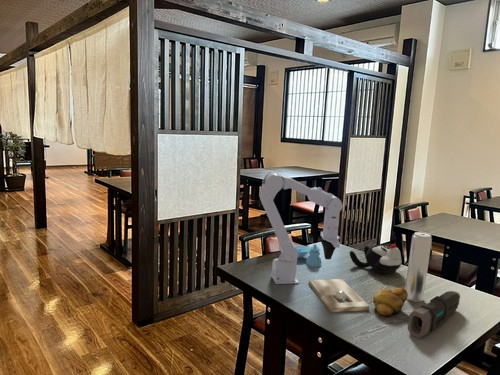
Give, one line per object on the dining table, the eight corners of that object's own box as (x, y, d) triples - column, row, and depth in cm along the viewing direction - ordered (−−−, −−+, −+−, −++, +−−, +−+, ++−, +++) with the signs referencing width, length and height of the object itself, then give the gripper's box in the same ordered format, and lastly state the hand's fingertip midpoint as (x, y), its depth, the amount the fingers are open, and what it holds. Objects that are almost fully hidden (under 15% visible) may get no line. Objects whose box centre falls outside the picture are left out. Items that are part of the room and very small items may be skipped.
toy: (396, 255, 145) (356, 230, 158) (381, 288, 151) (344, 261, 164) (414, 248, 155) (375, 225, 168) (400, 279, 161) (363, 254, 174)
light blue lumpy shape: (283, 255, 172) (284, 237, 170) (299, 252, 178) (300, 234, 177) (310, 268, 158) (312, 249, 156) (326, 264, 164) (328, 245, 162)
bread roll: (390, 322, 117) (393, 299, 116) (363, 310, 124) (366, 288, 123) (408, 309, 126) (411, 288, 124) (381, 299, 133) (384, 278, 131)
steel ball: (335, 293, 127) (331, 294, 130) (341, 303, 126) (337, 304, 129) (344, 287, 128) (339, 289, 132) (350, 298, 127) (345, 299, 131)
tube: (465, 322, 125) (428, 342, 105) (444, 318, 130) (406, 337, 110) (463, 290, 126) (426, 304, 106) (443, 287, 131) (404, 300, 111)
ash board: (330, 312, 121) (331, 307, 121) (308, 283, 142) (309, 280, 142) (368, 310, 124) (369, 306, 124) (341, 282, 145) (341, 279, 145)
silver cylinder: (408, 292, 139) (416, 230, 135) (425, 298, 135) (435, 234, 130) (401, 297, 135) (409, 233, 130) (419, 304, 130) (428, 238, 126)
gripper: (348, 231, 136) (345, 265, 138) (332, 221, 150) (330, 252, 152) (331, 231, 134) (327, 265, 137) (316, 221, 148) (314, 252, 151)
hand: (327, 258), depth 144 cm, fingers closed
